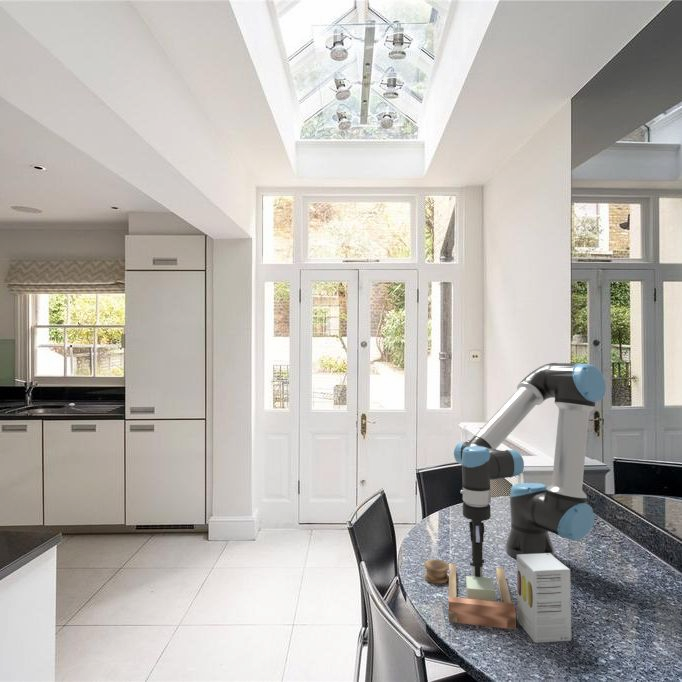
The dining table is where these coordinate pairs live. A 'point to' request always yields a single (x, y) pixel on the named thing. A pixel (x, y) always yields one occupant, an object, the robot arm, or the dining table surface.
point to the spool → (436, 571)
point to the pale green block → (480, 588)
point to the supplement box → (544, 597)
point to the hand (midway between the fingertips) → (477, 587)
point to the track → (482, 605)
